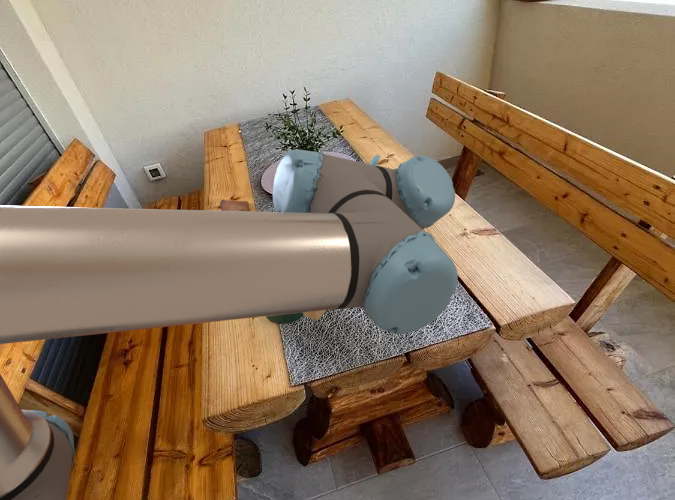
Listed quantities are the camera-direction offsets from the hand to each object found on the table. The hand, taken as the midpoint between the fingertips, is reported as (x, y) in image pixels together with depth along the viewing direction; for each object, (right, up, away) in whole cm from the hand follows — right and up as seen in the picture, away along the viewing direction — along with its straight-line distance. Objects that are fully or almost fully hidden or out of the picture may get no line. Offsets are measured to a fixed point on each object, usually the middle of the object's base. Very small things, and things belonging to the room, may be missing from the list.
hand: (293, 283), depth 73 cm
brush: (+4, -6, +2) cm, 7 cm away
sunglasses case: (-21, +15, +42) cm, 49 cm away
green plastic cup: (-3, -6, +12) cm, 14 cm away
